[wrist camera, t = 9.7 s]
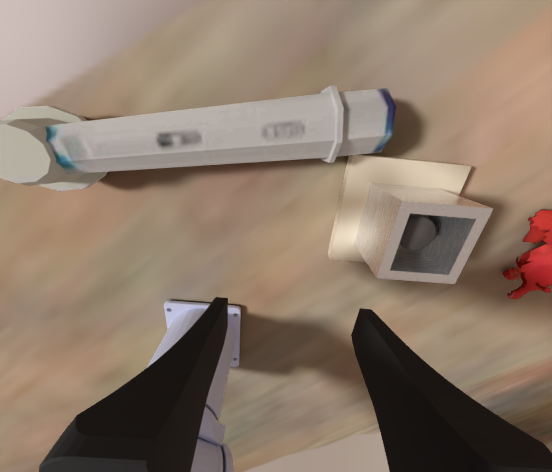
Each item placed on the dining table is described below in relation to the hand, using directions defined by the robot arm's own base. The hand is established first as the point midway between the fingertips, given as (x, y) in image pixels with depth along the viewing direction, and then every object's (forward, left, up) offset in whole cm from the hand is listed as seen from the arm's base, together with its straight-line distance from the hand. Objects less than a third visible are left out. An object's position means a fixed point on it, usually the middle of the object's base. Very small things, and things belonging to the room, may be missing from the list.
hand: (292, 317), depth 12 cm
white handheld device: (+8, +7, -10) cm, 15 cm away
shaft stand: (+3, -9, -9) cm, 13 cm away
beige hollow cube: (+3, -9, -8) cm, 12 cm away
